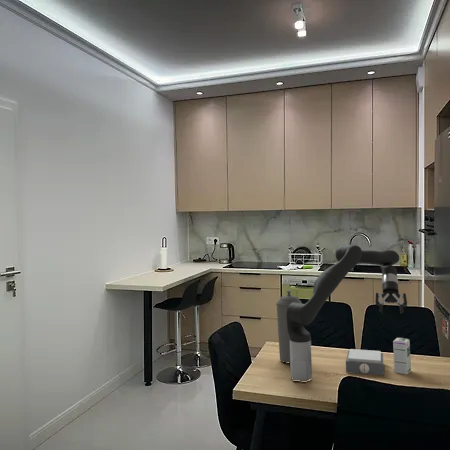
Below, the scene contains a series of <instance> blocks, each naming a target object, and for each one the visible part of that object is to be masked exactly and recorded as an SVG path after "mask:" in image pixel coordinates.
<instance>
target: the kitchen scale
mask: <svg viewBox="0 0 450 450" xmlns="http://www.w3.org/2000/svg"><path fill="white" fill-rule="evenodd" d="M346 354H347V355H346V358H345V372H346V373H349V372H352V373H353V374H362V375H363V374H364V375H374V376H375V375H376V376H383V377H384V375H385V371H384V369H385V368H384V353H383V352H381V350H370V349H369V350H368V349H356V348H350V349H349V350H347V353H346Z"/></svg>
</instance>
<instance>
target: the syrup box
mask: <svg viewBox="0 0 450 450" xmlns="http://www.w3.org/2000/svg"><path fill="white" fill-rule="evenodd" d="M392 343H393V344H392V346H393V364H394V366H393V368H394V373H396V374H401V375H407V376H408V374H409V373H411V371H412V363H411V348H410V347H411V343H410V339H409V338H404V337H396V338H395V339H394V340H393V341H392Z"/></svg>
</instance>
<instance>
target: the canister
mask: <svg viewBox="0 0 450 450" xmlns="http://www.w3.org/2000/svg"><path fill="white" fill-rule="evenodd" d="M286 293H287V294H285V295H282V296H281V297H280V298H279V299H278V300H277V302H276V317H277V318H276V319H277V333H278V334H277V335H278V352H279V361H280V360H281V361H284V362H289V363H290V337H289V334H288V330H287V318H286V313H287V308H288V306H289V305H290V304H291V303H294V302H296V303H302V301H301V300H300V299H299V298H298V296H296V295H293V294H291V293H292V290H286ZM281 361H280V362H281Z"/></svg>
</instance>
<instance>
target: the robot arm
mask: <svg viewBox="0 0 450 450" xmlns="http://www.w3.org/2000/svg"><path fill="white" fill-rule="evenodd" d="M335 258H336V260H337V262H336V263H334V264H333V265H331V266H330V267H327V268H326V269H325V270H323V271H322V272H321V273H320V274H319V276H318V277H316V280H315V281H314V284H313V289H312V290H313V293H312V295H311V297H310V298H309V300H308V301H307V302H306V303H302V302H301V303H296V302H294V303H291V304H290V305H289V306H288V308H287V313H286V318H287V330H288V334H289V337H290V364H289V366H290V379H291V378H293V380H300V381H307V380H309V379H311V378H312V379H313V366H312V365H313V363H312V362H313V360H312V337H311V333H310V332H309V331H308V330H307V329H306V328H305V326H306V327H307V326H309V325H310V324H311V323H313V321H314V320H315V318H316V317H317V315H318V313H319V312H320V310H321V308H322V307H323V305H325V303H326V301H327V300H328V298H329V297H331V295H332V293H333V292H334V291H335V290H336V289H337V287H338V286H339V285H340V283H341V282H342V281H343V280H344V278H346V276H347V275H348V274H349V273H350V272H351V271H352V270H353V269H354V267H356V266H357V265H358V264H360V263H362V264H369V265H374V266H375V265H376V266H379V267H380V269H381V273H382V274H381V275H382V278H381V288H382V293H379V292H376V293H375V305H376V306H379V312H380V313H381V314H383V312H384V311H383V310H384V308H383V307H384V305H385V304H386V303H388V304H390V303H392V304H397V305H398V306H399V312H400V314H399V315H401V314H403V313H404V307H407V306H408V300H407V294H406V293H405V292H403V294H401V293H399V279H398V271H397V268H396V266H394V265H395V264H398V262H399V261H400V255H399V253H398V252H396V251H395V250H391V249H389V250H382V251H381V250H368V249H367V250H365V249H364V250H363V249H362V248H361V246H358V245H357V244H346V245H340V246H338V247H337V248H336V251H335ZM380 298H382V299H381V300H379V299H380ZM400 298H401V299H402V300H403V301H401V299H400ZM293 380H292V381H293Z"/></svg>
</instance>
